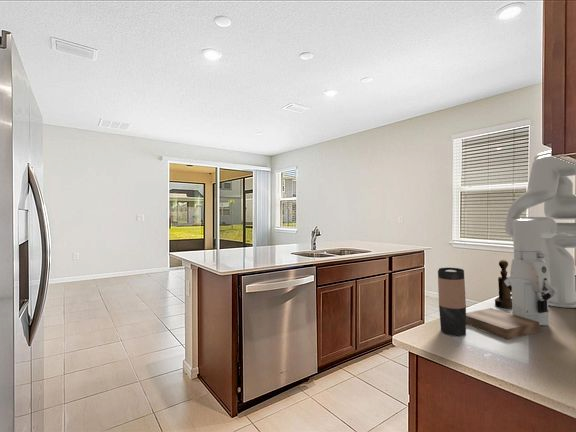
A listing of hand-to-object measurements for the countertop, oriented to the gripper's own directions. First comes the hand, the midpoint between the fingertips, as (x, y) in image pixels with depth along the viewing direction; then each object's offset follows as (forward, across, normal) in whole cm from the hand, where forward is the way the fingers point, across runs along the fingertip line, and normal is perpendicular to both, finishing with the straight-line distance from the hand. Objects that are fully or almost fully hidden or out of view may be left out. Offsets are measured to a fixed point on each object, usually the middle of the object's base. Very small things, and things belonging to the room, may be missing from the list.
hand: (529, 308), depth 105 cm
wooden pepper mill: (+5, +16, -10) cm, 20 cm away
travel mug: (+5, +5, +28) cm, 29 cm away
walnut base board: (+5, +2, +12) cm, 13 cm away
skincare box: (+5, 0, 0) cm, 5 cm away
